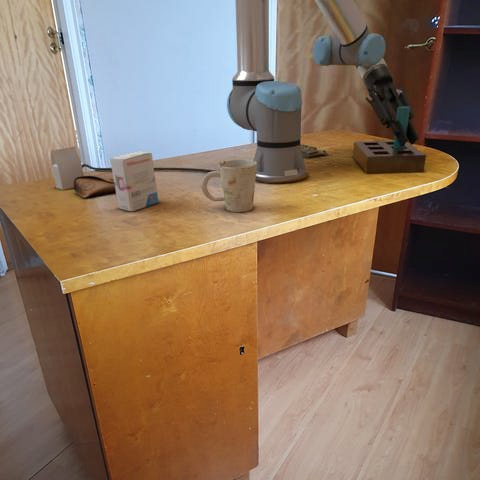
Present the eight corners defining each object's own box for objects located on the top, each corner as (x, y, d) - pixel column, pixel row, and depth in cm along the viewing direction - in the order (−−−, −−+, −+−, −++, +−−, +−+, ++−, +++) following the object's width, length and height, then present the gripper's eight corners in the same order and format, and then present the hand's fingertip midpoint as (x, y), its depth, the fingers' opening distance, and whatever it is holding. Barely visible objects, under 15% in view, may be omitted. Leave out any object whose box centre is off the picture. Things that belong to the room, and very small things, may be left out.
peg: (393, 156, 143) (399, 107, 136) (391, 154, 145) (396, 106, 139) (404, 156, 142) (411, 107, 136) (402, 153, 145) (408, 106, 139)
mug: (257, 213, 109) (257, 167, 104) (201, 215, 109) (197, 169, 104) (257, 202, 116) (256, 158, 111) (204, 203, 116) (201, 160, 111)
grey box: (85, 184, 136) (78, 147, 131) (62, 189, 132) (54, 151, 127) (78, 182, 139) (71, 145, 134) (56, 187, 135) (47, 149, 130)
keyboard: (269, 148, 172) (269, 142, 171) (290, 145, 175) (290, 139, 174) (307, 158, 155) (307, 151, 154) (329, 154, 159) (330, 148, 158)
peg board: (366, 173, 136) (367, 156, 134) (352, 156, 155) (354, 141, 153) (423, 171, 135) (426, 155, 133) (403, 155, 155) (405, 140, 152)
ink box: (145, 199, 121) (138, 149, 115) (159, 202, 118) (153, 151, 113) (117, 208, 116) (109, 156, 110) (131, 212, 113) (123, 158, 107)
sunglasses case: (84, 197, 123) (75, 171, 123) (79, 206, 129) (71, 181, 129) (150, 185, 131) (142, 160, 131) (143, 193, 137) (135, 170, 137)
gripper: (360, 65, 137) (396, 137, 132) (404, 62, 143) (439, 130, 139) (346, 85, 144) (380, 154, 139) (389, 82, 150) (422, 147, 145)
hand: (409, 142), depth 139 cm, fingers closed on peg, 3 cm apart
